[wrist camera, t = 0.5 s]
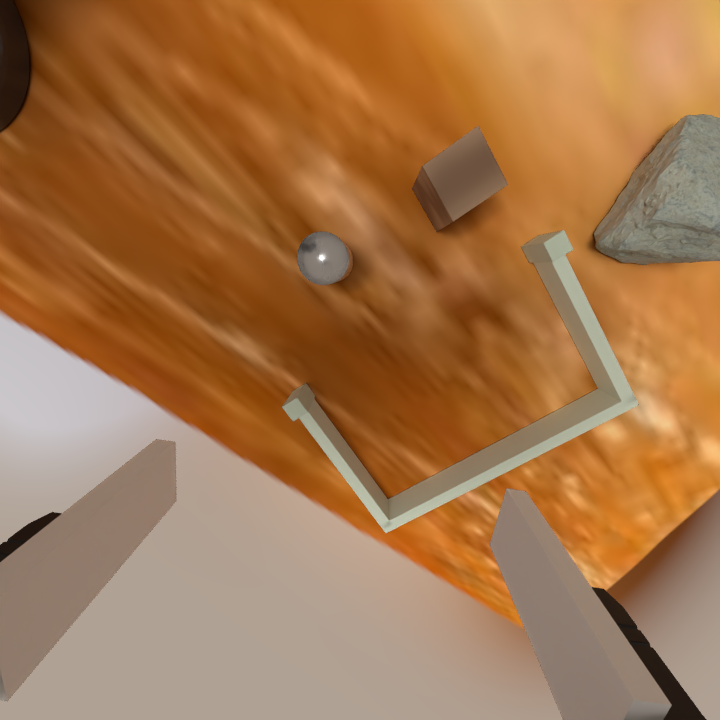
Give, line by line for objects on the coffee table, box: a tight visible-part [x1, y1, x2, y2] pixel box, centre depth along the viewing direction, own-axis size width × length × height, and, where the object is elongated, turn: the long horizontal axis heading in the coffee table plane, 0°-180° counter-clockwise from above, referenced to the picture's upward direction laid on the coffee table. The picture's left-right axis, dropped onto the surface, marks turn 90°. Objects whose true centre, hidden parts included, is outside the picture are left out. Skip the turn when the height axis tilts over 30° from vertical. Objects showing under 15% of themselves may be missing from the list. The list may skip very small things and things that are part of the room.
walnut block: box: [412, 126, 508, 232], centre depth 28 cm, size 4×4×7 cm
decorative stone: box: [593, 114, 720, 265], centre depth 28 cm, size 13×11×10 cm
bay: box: [282, 230, 639, 533], centre depth 34 cm, size 18×29×4 cm, turn 123°
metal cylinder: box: [297, 232, 354, 285], centre depth 29 cm, size 4×4×7 cm
